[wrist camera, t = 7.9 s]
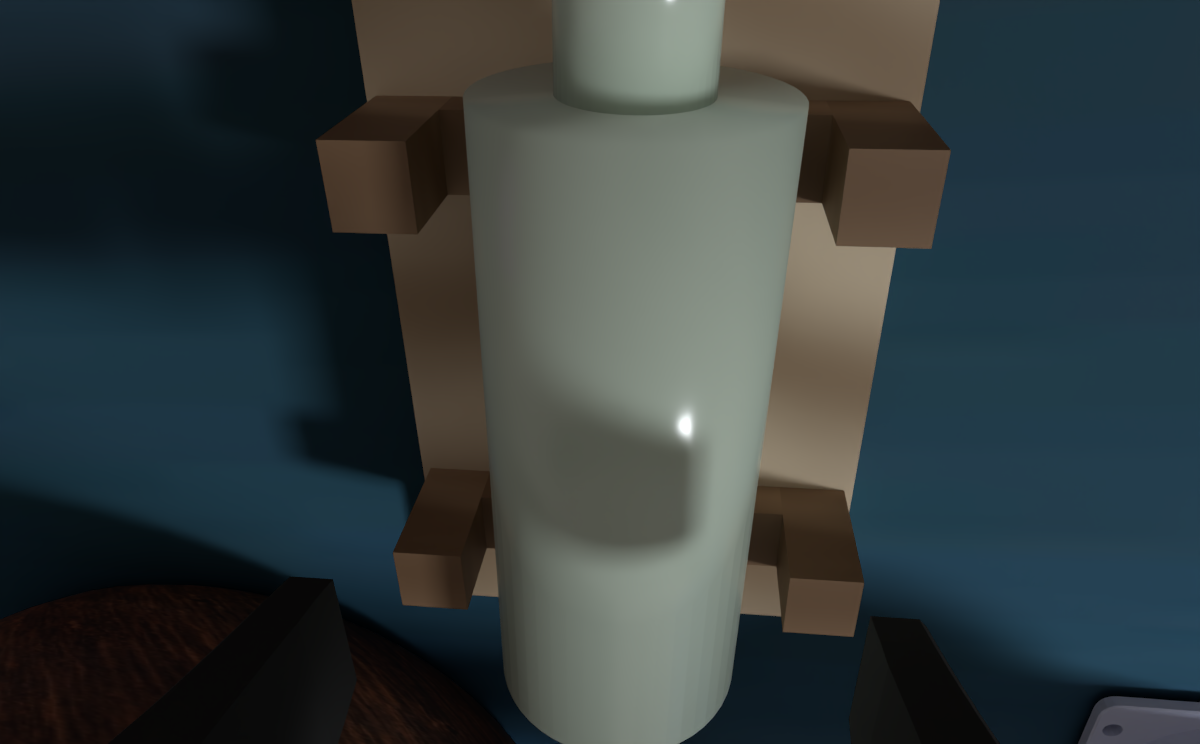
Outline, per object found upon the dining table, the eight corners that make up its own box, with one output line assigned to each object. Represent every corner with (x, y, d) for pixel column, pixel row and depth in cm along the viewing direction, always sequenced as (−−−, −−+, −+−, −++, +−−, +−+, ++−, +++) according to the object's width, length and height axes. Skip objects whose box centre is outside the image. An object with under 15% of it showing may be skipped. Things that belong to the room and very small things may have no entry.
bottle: (720, 574, 21) (745, 760, 17) (516, 568, 21) (488, 751, 17) (809, -191, 13) (901, -213, 8) (475, -196, 13) (397, -220, 9)
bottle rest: (825, 591, 23) (846, 718, 20) (451, 567, 24) (409, 683, 21) (937, -71, 15) (1006, -48, 12) (361, -66, 16) (268, -44, 13)
